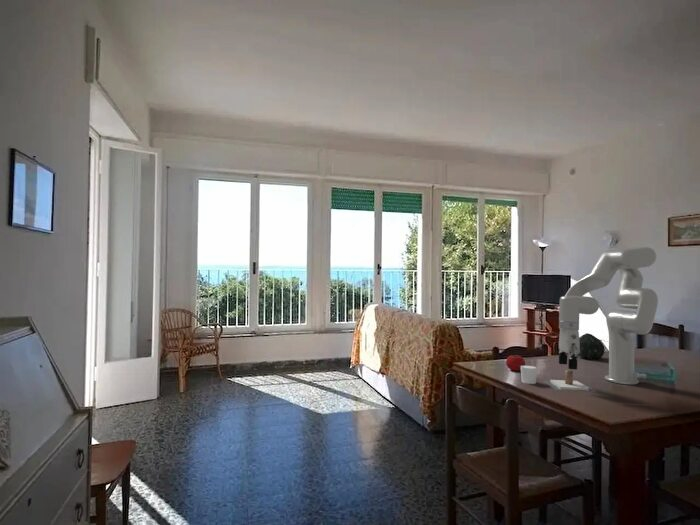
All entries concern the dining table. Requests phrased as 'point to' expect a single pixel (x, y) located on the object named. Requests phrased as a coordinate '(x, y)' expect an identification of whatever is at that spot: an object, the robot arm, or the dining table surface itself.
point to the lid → (569, 382)
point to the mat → (568, 390)
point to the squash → (590, 347)
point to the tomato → (515, 362)
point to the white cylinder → (528, 374)
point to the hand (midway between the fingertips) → (567, 366)
